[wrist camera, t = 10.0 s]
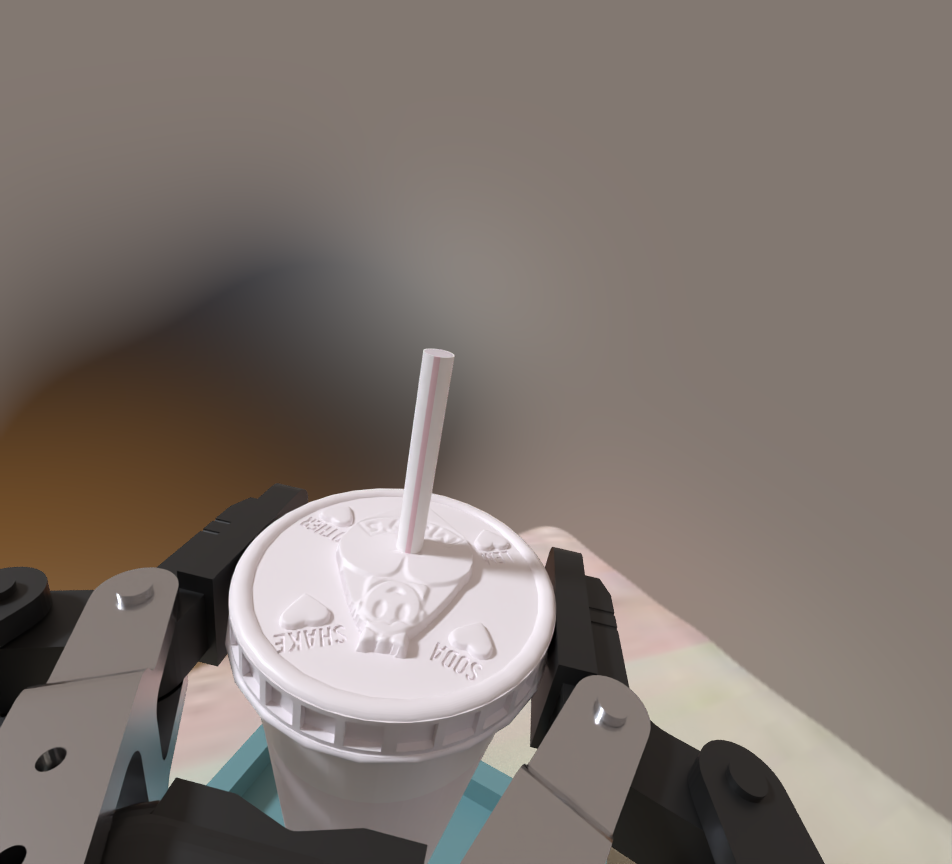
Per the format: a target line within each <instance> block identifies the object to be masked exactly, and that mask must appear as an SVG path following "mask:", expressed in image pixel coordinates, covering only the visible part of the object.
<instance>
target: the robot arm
mask: <svg viewBox="0 0 952 864" xmlns="http://www.w3.org/2000/svg"><path fill="white" fill-rule="evenodd" d="M307 503H308V494H307V491H306V490H304V489H300V488H295V487H291V486H287V485H282V484H278V483H277V484H274V485H273V486H272V487H271V488H269V489H268V490H267V491H266V492H265V493H264V494H263V495H261V497H259V498H258V499H255V498H248V499H246V500H243V501H241V502H239V503H237V504H234V505H232V506H230V507H229V508H227V509H226V510H225V511H224V512H223V513H221V514H220V515H219V516H218V517H217V518H216V520H215V521H212V522H211V523H209V524H208V525H207V526H206V527H205V528H204V529H203V531H200V532H199V533H198V534H196V535H195V536H194V537H193V538H191V539H190V540H189V541H188V542H187V543H185V544H184V545H183V546H182V547H181V548H180V549H178V550H177V551H176V552H175V553H173V554H172V555H171V556H170V557H169V558H167V559H166V560H165V561H164V562H163V563H161V564H160V565H159V566H158V567H157V568H139V569H134V570H130V571H126V572H124V573H121V574H118V575H116V576H114V577H112V578H110V579H108V580H106V581H105V582H103V583H102V584H101V585H99V586H98V587H97V588H96V589H95V590H69V591H50V589H49V585H48V580H47V577H46V575H45V574H44V573H43V572H42V571H40V570H38V569H34V568H30V567H12V568H11V567H10V568H4V569H0V864H424V861H425V856H426V851H427V846H428V845H426V844H422V843H419V842H415V841H411V840H408V839H404V838H400V837H396V836H393V835H389V834H385V833H381V832H378V831H374V830H370V829H366V828H353V829H333V830H313V831H292V830H289V829H287V828H285V827H284V826H282V825H281V824H279V823H278V822H276V821H275V820H274V819H272V818H271V817H269V816H268V815H266V814H265V813H264V812H262V811H261V810H259V809H258V808H256V807H255V806H253V805H252V804H251V803H249V802H248V801H246V800H245V799H243V798H242V797H241V796H239V795H238V794H236V793H232V792H228V791H225V790H221V789H217V788H213V787H210V786H206V785H202V784H198V783H195V782H191V781H187V780H184V779H180V778H175V780H174V781H173V783H172V784H171V786H170V787H169V789H168V783H169V775H170V769H171V764H172V759H173V754H174V749H175V744H176V740H177V735H178V730H179V725H180V720H181V715H182V710H183V706H184V701H185V696H186V691H187V686H188V676H187V674H188V673H189V672H190V671H191V670H192V668H193V667H194V666H195V665H196V664H197V662H202V663H206V664H210V665H214V666H218V665H219V664H220V663H221V661H222V660H223V659H224V658H225V656H226V655H227V654H228V653H227V649H226V646H225V640H226V632H227V625H228V617H229V589H230V584H231V580H232V576H233V574H234V571H235V568H236V566H237V564H238V562H239V560H240V558H241V556H242V555H243V553H244V552H245V550H246V549H247V548H248V546H249V545H250V544H251V543H252V541H253V540H254V539H255V538H256V537H257V536H258V535H259V534H260V533H261V532H262V531H263V530H264V529H266V528H267V527H268V526H269V525H271V524H272V523H273V522H275V521H276V520H278V519H279V518H281V517H282V516H284V515H285V514H287V513H289V512H291V511H293V510H295V509H297V508H299V507H301V506H303V505H305V504H307ZM545 569H546V571H547V573H548V575H549V578H550V581H551V583H552V586H553V590H554V594H555V601H556V621H555V627H554V632H553V635H552V638H551V642H550V645H549V647H548V650H547V664H546V667H545V669H544V672H543V675H542V677H541V680H540V683H539V685H538V688H537V691H536V693H535V694H534V695H533V696H532V698H531V734H530V747H533V748H537V751H536V752H535V754H534V756H533V757H532V759H531V760H530V762H529V763H528V765H525V764H524V765H522V766H521V768H520V769H519V770H518V772H517V773H516V774H515V776H514V778H513V779H512V781H511V782H510V784H509V786H508V787H507V789H506V790H505V792H504V794H503V795H502V797H501V798H500V800H499V802H498V803H497V805H496V806H495V808H494V810H493V811H492V813H491V814H490V816H489V818H488V819H487V821H486V823H485V824H484V826H483V827H482V829H481V831H480V832H479V834H478V835H477V837H476V839H475V840H474V842H473V843H472V845H471V847H470V848H469V850H468V851H467V853H466V855H465V856H464V858H463V860H462V861H461V863H460V864H605V863H606V861H607V858H608V855H609V852H610V849H611V847H613V848H614V849H616V850H617V851H619V852H620V853H622V854H623V855H625V856H626V857H628V858H629V859H631V860H632V861H634V862H635V863H637V864H825V863H824V862H823V860H822V858H821V856H820V854H819V852H818V850H817V848H816V847H815V845H814V843H813V841H812V839H811V837H810V835H809V833H808V832H807V830H806V828H805V826H804V824H803V822H802V820H801V818H800V817H799V815H798V813H797V811H796V809H795V807H794V805H793V803H792V802H791V800H790V798H789V796H788V794H787V792H786V790H785V789H784V787H783V785H782V784H781V782H780V780H779V779H778V778H777V776H776V775H775V774H774V772H773V771H772V770H771V769H770V768H769V767H768V766H767V765H766V764H765V763H764V762H763V761H762V760H761V759H760V758H758V757H757V756H756V755H755V754H753V753H752V752H750V751H749V750H747V749H746V748H744V747H742V746H740V745H738V744H735V743H733V742H729V741H725V740H714V741H710V742H708V743H707V744H705V745H704V746H703V748H702V749H701V751H699V750H697V749H695V748H693V747H692V746H690V745H688V744H686V743H684V742H683V741H681V740H679V739H677V738H675V737H673V736H672V735H670V734H668V733H667V732H665V731H663V730H662V729H660V728H659V727H658V726H656V725H655V724H654V723H653V722H652V721H651V720H650V718H649V715H648V712H647V710H646V708H645V706H644V704H643V703H642V701H641V700H640V699H639V697H638V696H637V695H636V694H635V693H634V692H633V691H632V690H631V689H630V688H629V684H628V679H627V674H626V669H625V664H624V659H623V654H622V649H621V644H620V639H619V634H618V631H617V624H616V619H615V616H614V609H613V604H612V599H611V595H610V593H609V592H608V591H607V589H606V588H605V586H604V585H603V583H602V582H601V580H600V579H599V578H594V577H590V576H586V575H585V572H584V565H583V557H582V554H581V553H577V552H573V551H568V550H564V549H560V548H555V547H552V548H551V550H550V552H549V556H548V559H547V562H546V566H545Z"/></svg>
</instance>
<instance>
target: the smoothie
mask: <svg viewBox="0 0 952 864" xmlns="http://www.w3.org/2000/svg"><path fill="white" fill-rule="evenodd" d="M453 361H454V354H452V353H450V352H448V351H444V350H440V349H425V350H423V357H422V365H421V372H420V379H419V386H418V394H417V401H416V408H415V416H414V423H413V430H412V438H411V445H410V452H409V459H408V466H407V473H406V481H405V488H404V489H369V490H356V491H351V492H346V493H341V494H336V495H331V496H328V497H325V498H322V499H319V500H316V501H313V502H310V503H307V504H305V505H303V506H301V507H299V508H297V509H295V510H293V511H291V512H289V513H287V514H285V515H284V516H282V517H281V518H279V519H278V520H276V521H275V522H273V523H272V524H271V525H269V526H268V527H267V528H266V529H264V530H263V531H262V532H261V533H260V534H259V535H258V536H257V537H256V538H255V539H254V540H253V541H252V543H251V544H250V545H249V546H248V548H247V549H246V550H245V552H244V553H243V555H242V556H241V558H240V560H239V562H238V564H237V566H236V568H235V571H234V574H233V576H232V580H231V584H230V589H229V617H228V625H227V632H226V640H225V646H226V649H227V653H228V657H229V661H230V665H231V669H232V673H233V676H234V680H235V683H236V685H237V686H238V687H239V689H240V690H241V691H242V693H243V694H244V695H245V697H246V698H247V699H248V701H249V702H250V704H251V705H252V706H253V708H254V709H255V710H256V712H257V713H258V714H259V716H260V717H261V720H262V724H263V728H264V731H265V736H266V741H267V745H268V750H269V755H270V759H271V764H272V769H273V773H274V778H275V783H276V787H277V792H278V797H279V801H280V806H281V810H282V815H283V820H284V824H285V828H287V829H289V830H292V831H313V830H333V829H353V828H366V829H370V830H374V831H378V832H381V833H385V834H389V835H393V836H396V837H400V838H404V839H408V840H411V841H415V842H419V843H422V844H426V845H428V846H427V851H426V856H425V861H424V864H428V862H429V860H430V858H431V856H432V854H433V852H434V850H435V848H436V846H437V844H438V842H439V840H440V839H441V837H442V835H443V833H444V831H445V829H446V827H447V825H448V823H449V821H450V819H451V817H452V815H453V813H454V811H455V809H456V807H457V805H458V803H459V802H460V800H461V798H462V796H463V794H464V792H465V790H466V788H467V786H468V784H469V782H470V780H471V778H472V776H473V774H474V772H475V770H476V768H477V766H478V765H479V763H480V761H481V759H482V757H483V755H484V753H485V751H486V749H487V747H488V745H489V744H490V742H491V741H492V739H493V737H494V735H495V733H496V732H498V731H499V730H501V729H502V728H504V727H506V726H507V725H509V724H510V723H511V722H512V720H513V719H514V718H515V717H516V716H517V714H518V713H519V712H520V711H521V710H522V708H523V707H524V706H525V705H526V704H527V702H528V701H529V700H530V699H531V698H532V696H533V695H534V694H535V693H536V691H537V688H538V685H539V683H540V680H541V677H542V675H543V672H544V669H545V667H546V664H547V650H548V647H549V645H550V642H551V638H552V635H553V632H554V627H555V621H556V601H555V594H554V590H553V586H552V583H551V581H550V578H549V575H548V573H547V571H546V569H545V567H544V566H543V564H542V562H541V561H540V559H539V558H538V556H537V555H536V554H535V553H534V551H533V550H532V549H531V548H530V547H529V545H528V544H527V543H526V542H525V541H524V540H523V539H522V538H521V537H520V536H519V535H517V534H516V533H515V532H514V531H513V530H512V529H510V528H509V527H508V526H507V525H505V524H504V523H502V522H501V521H499V520H498V519H496V518H494V517H493V516H491V515H490V514H488V513H486V512H484V511H481V510H480V509H478V508H475V507H473V506H471V505H469V504H467V503H463V502H461V501H458V500H455V499H452V498H449V497H445V496H441V495H437V494H432V488H433V482H434V476H435V470H436V464H437V458H438V451H439V446H440V440H441V434H442V428H443V421H444V416H445V410H446V403H447V398H448V391H449V385H450V379H451V373H452V367H453Z"/></svg>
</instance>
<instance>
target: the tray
mask: <svg viewBox="0 0 952 864" xmlns="http://www.w3.org/2000/svg"><path fill="white" fill-rule="evenodd" d="M512 779H513V778H511V777H509V776H508V775H506V774H504V773H502V772H500V771H499V770H497V769H495V768H493V767H491V766H490V765H488V764H486V763H484V762H482V761H480V763H479V765H478V766H477V768H476V770H475V772H474V774H473V776H472V778H471V780H470V782H469V784H468V786H467V788H466V790H465V792H464V794H463V796H462V798H461V800H460V802H459V803H458V805H457V807H456V809H455V811H454V813H453V815H452V817H451V819H450V821H449V823H448V825H447V827H446V829H445V831H444V833H443V835H442V837H441V839H440V840H439V842H438V844H437V846H436V848H435V850H434V852H433V854H432V856H431V858H430V860H429V862H428V864H460V863H461V861H462V860H463V858H464V856H465V855H466V853H467V851H468V850H469V848H470V847H471V845H472V843H473V842H474V840H475V839H476V837H477V835H478V834H479V832H480V831H481V829H482V827H483V826H484V824H485V823H486V821H487V819H488V818H489V816H490V814H491V813H492V811H493V810H494V808H495V806H496V805H497V803H498V802H499V800H500V798H501V797H502V795H503V794H504V792H505V790H506V789H507V787H508V786H509V784H510V782H511V781H512ZM206 786H210V787H213V788H217V789H221V790H225V791H228V792H232V793H236V794H238V795H239V796H241V797H242V798H243V799H245V800H246V801H248V802H249V803H251V804H252V805H253V806H255V807H256V808H258V809H259V810H261V811H262V812H264V813H265V814H266V815H268V816H269V817H271V818H272V819H274V820H275V821H276V822H278V823H279V824H281V825H282V826H284V827H285V824H284V820H283V815H282V810H281V806H280V801H279V797H278V792H277V787H276V783H275V778H274V773H273V769H272V764H271V759H270V755H269V750H268V745H267V741H266V736H265V731H264V728H263V724H262V725H261V726H260V727H259V728H258V729H257V730H256V731H255V732H254V733H253V735H252V736H251V737H250V738H249V739H248V740H247V741H246V742H245V743H244V744H243V746H242V747H241V748H240V749H239V750H238V751H237V752H236V753H235V754H234V755H233V757H232V758H231V759H230V760H229V761H228V762H227V763H226V764H225V765H224V766H223V768H222V769H221V770H220V771H219V772H218V773H217V774H216V775H215V776H214V777H213V779H212V780H211V781H210V782H209V783H208V784H207V785H206ZM605 864H607V861H606V863H605Z"/></svg>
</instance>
